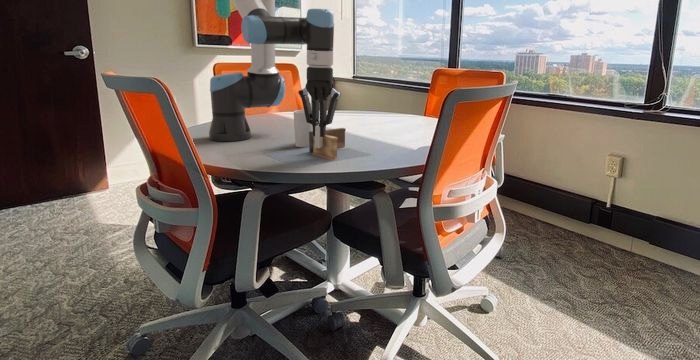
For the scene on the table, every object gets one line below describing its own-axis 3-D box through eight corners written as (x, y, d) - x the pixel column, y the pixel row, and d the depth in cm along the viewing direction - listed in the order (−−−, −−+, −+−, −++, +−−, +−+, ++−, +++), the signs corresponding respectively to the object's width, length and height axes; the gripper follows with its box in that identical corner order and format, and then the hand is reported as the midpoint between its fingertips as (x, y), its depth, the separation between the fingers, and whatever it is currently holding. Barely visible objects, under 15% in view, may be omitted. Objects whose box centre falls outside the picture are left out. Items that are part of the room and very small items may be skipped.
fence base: (308, 151, 146) (307, 131, 144) (342, 146, 154) (342, 127, 152) (311, 152, 145) (311, 132, 143) (345, 147, 152) (345, 128, 150)
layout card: (262, 155, 144) (262, 153, 143) (334, 144, 159) (334, 143, 159) (296, 169, 127) (296, 167, 127) (372, 156, 143) (372, 154, 143)
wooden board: (312, 152, 144) (312, 132, 143) (317, 151, 145) (317, 132, 144) (332, 158, 136) (332, 138, 134) (337, 157, 137) (337, 137, 136)
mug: (316, 148, 154) (315, 112, 150) (295, 149, 152) (294, 112, 149) (311, 142, 163) (311, 108, 160) (292, 143, 162) (291, 109, 158)
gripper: (293, 65, 130) (294, 147, 137) (335, 68, 126) (333, 152, 133) (305, 65, 137) (305, 142, 144) (345, 67, 133) (343, 147, 139)
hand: (319, 147), depth 138 cm, fingers closed
